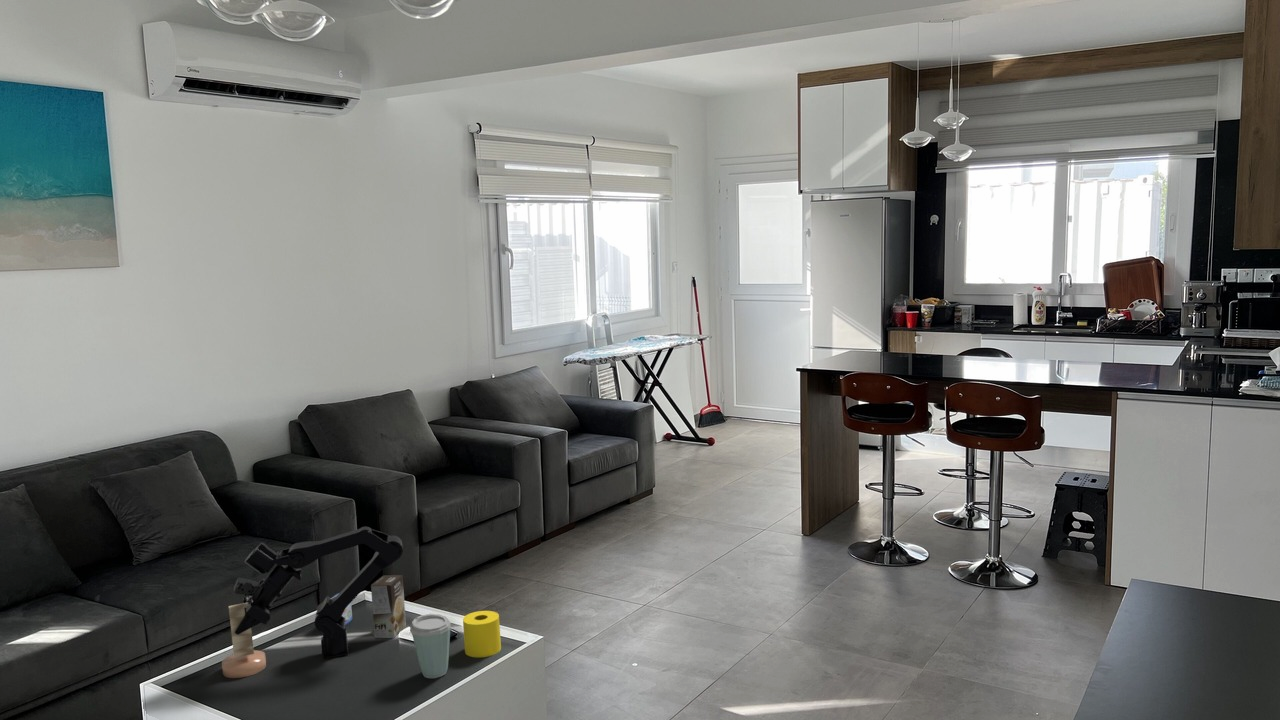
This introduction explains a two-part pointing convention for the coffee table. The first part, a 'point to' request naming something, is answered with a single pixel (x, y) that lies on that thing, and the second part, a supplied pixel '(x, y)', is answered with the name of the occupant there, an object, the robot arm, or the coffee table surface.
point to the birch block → (244, 639)
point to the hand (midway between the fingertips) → (235, 630)
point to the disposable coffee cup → (432, 643)
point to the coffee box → (388, 606)
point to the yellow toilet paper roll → (482, 633)
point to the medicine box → (346, 612)
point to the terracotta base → (243, 665)
